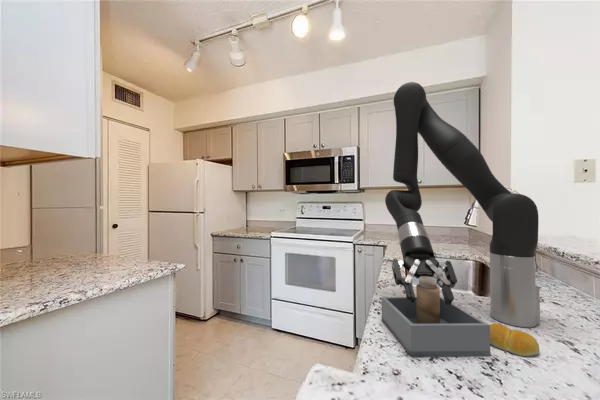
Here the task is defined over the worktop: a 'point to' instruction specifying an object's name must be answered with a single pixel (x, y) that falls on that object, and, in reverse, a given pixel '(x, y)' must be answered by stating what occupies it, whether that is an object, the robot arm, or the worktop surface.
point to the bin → (436, 330)
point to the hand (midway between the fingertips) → (431, 302)
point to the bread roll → (513, 340)
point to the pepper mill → (428, 301)
